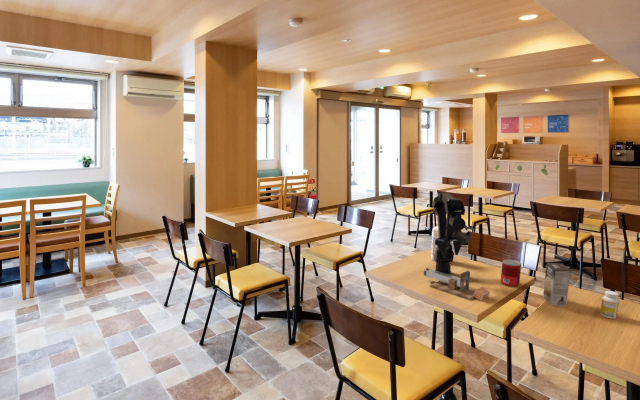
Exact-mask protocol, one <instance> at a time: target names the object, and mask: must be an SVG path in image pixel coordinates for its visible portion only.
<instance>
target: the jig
mask: <svg viewBox="0 0 640 400" xmlns="http://www.w3.org/2000/svg"><path fill="white" fill-rule="evenodd" d="M470 273H471V271H470V270H466V271H464V272H462V273H460V278H461V279H460V287H458V286H455V281H454V280H451V279H448V283H445V282H442V281H439V280H437V281H436V282H433V283H431V284H429V287H430V288H432V289H435V290H438V291H441V292H444V293H447V294H449V295H453V296H456V297H458V298H462V299H464V300H468V301H471V300H473V299H475V298H476V297H474V296H473V294H474V292H475V290H476V289H477V288H476V287H473V286H470V277H471V276H470V275H471V274H470Z"/></svg>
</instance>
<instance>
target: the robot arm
mask: <svg viewBox="0 0 640 400" xmlns="http://www.w3.org/2000/svg"><path fill="white" fill-rule="evenodd" d="M431 205H432V206H431V207H432V208H433V213H434V214H435V215H436V216H437V226H438V233H439V238H437V239H436V240H435V244H436V245H437V248H436V251H435V254H434V260H435V261H434V262H435V269H434V270H435V271H438V272H442V273H445V274H450V273H451V274H452V271H451V266H452V265H451V263H454V262H453V261H454V257H455V256H458V255H459V252H460V251H461V248H462V246H463V245H465V244H468V243H469V242H470V241H471V240H472V232H471V231H462V230H464V229H465V228H466V221H465V219H464V218H462V216H465V213H466V208H465V204H464V202H463V200H462V199H461V198H455V197H453V196H452V194H451V193H450V192H446V191H445V192H439V194H438V195H437V196H435V197H433V201H432V203H431ZM452 243H453V244H452Z"/></svg>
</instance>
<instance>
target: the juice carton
mask: <svg viewBox="0 0 640 400" xmlns="http://www.w3.org/2000/svg"><path fill="white" fill-rule="evenodd" d="M437 238H439V233H438V225H436V226H434V227H432V232H431V246H430V258H431V261H432V262H433V261H434V262H436V261H435V260H434V254H435V251H436V248H437V245H436V244H435V240H436V239H437Z"/></svg>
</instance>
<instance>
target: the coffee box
mask: <svg viewBox="0 0 640 400" xmlns="http://www.w3.org/2000/svg"><path fill="white" fill-rule="evenodd" d="M545 266H546V267H545V277H544V283H543V284H544V287H543V295H542V296H543V299H544V300H545V301H546V302H547V303H548V304H549V306H551V307H562V308H563V307H567V305H568V304H567V303H568V297H569V296H568V295H569V287H570V280H571V279H570V278H571V273H572V272H571V269H570V268H568V267H567V266H566V265H565V264H564V263H561V262H560V263H559V262H546V265H545Z"/></svg>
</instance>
